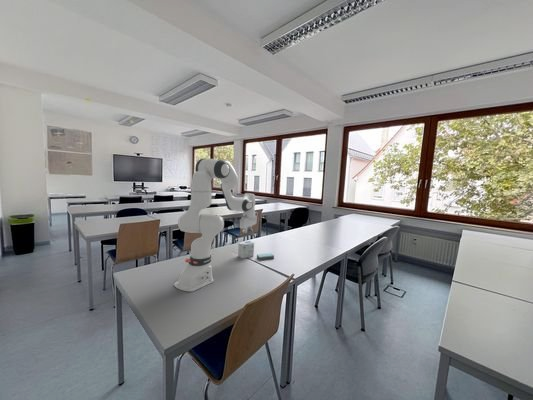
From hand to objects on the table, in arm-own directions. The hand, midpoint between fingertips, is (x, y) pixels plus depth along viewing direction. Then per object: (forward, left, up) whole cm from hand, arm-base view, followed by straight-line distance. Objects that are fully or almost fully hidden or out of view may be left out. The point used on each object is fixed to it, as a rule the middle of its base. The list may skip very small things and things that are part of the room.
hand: (248, 232), depth 170 cm
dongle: (0, +1, -2) cm, 2 cm away
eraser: (+4, -14, -20) cm, 24 cm away
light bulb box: (0, +1, -20) cm, 20 cm away
